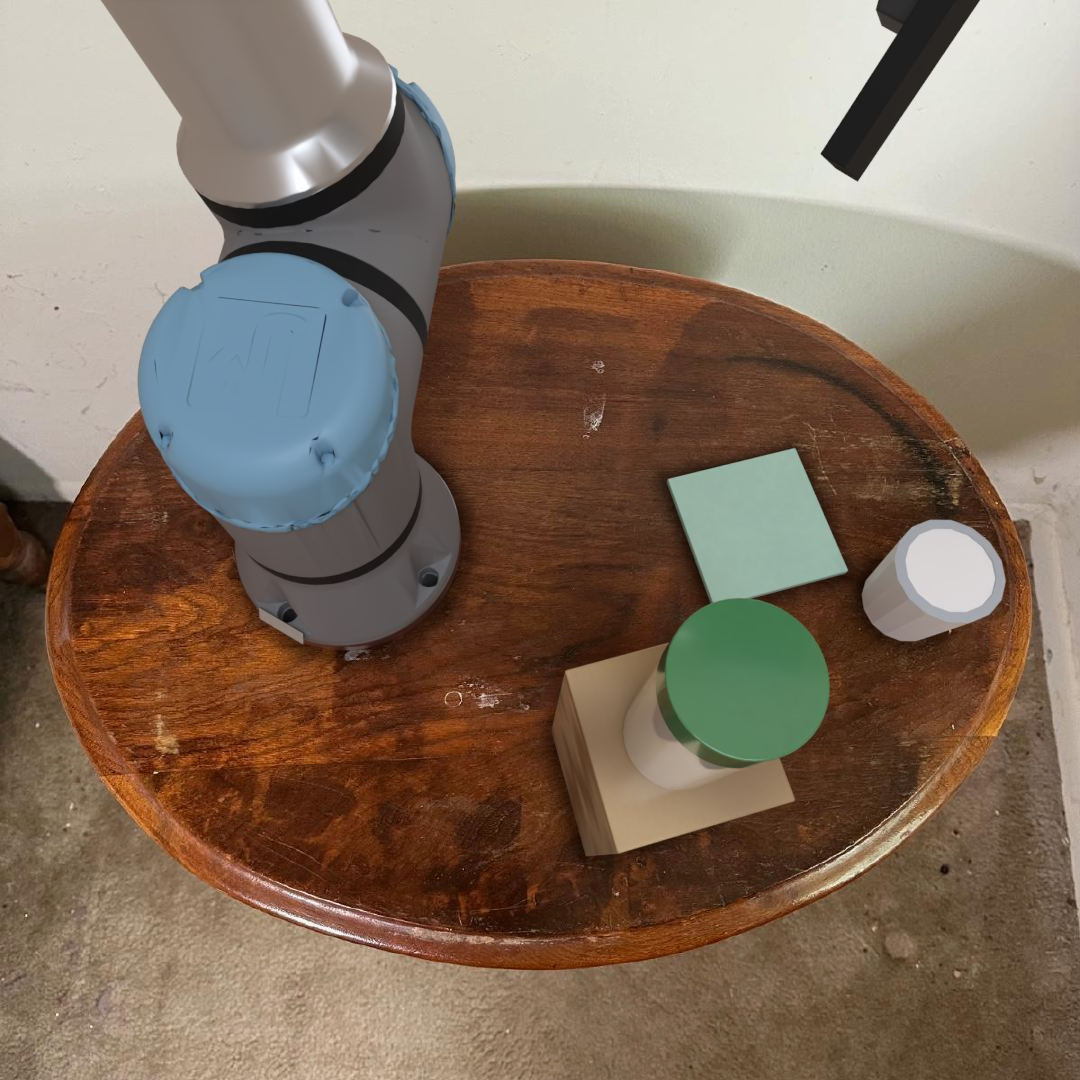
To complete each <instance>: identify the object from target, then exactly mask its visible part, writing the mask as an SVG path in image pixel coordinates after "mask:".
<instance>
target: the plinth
mask: <svg viewBox="0 0 1080 1080" xmlns="http://www.w3.org/2000/svg"><path fill="white" fill-rule="evenodd" d="M668 643H669V642H666V643H663V644H659V645H654V646H651V647H647V648H644V649H643V648H642V649H640V650H636V651H632V652H629V653H625V654H620V655H617V656H613V657H610V658H606V659H603V660H599V661H595V662H591V663H588V664H584V665H581V666H577V667H573V668H569V669H566V670H565V671H564V674H563V679H562V681H561V682H562V683H561V688H560V691H559V696H558V699H557V704H556V709H555V713H554V717H553V721H552V726H551V729H550V730H551V735H552V738H553V742H554V745H555V749H556V753H557V756H558V760H559V764H560V767H561V770H562V775H563V778H564V783H565V785H566V789H567V793H568V796H569V799H570V804H571V807H572V811H573V815H574V818H575V822H576V825H577V828H578V833H579V836H580V840H581V844H582V848H583V850H584V854H585V857H593V856H607V855H616V854H623V853H626V852H629V851H632V850H636V849H639V848H642V847H645V846H649V845H652V844H656V843H659V842H663V841H666V840H669V839H673V838H676V837H679V836H683V835H686V834H690V833H693V832H696V831H699V830H704V829H707V828H709V827H710V828H711V827H713V826H716V825H720V824H723V823H726V822H730V821H733V820H736V819H740V818H743V817H747V816H750V815H753V814H756V813H760V812H763V811H767V810H770V809H774V808H777V807H779V806H783V805H787V804H790V803H794V802H795V801H796V798H795V795H794V792H793V789H792V787H791V784H790V782H789V779H788V777H787V774H786V771H785V768H784V765H783V763H782V760H781V758H779V759H776V760H774V761H771V762H769V763H766V764H763V765H761V766H756V767H752V768H746V769H743V770H741V771H738V772H736V773H733V774H731V775H729V776H726V777H724V778H721V779H719V780H717V781H714V782H712V783H709V784H707V785H704V786H702V787H699V788H697V789H692V790H685V791H677V790H670V789H666V788H663V787H660V786H658V785H656V784H654V783H652V782H651V781H649V780H648V779H646V778H645V777H644V776H643V775H642V774H641V773H640V772H639V771H638V770H637V769H636V767H635V766H634V765H633V763H632V762H631V760H630V758H629V756H628V753H627V751H626V748H625V744H624V737H623V725H624V719H625V715H626V712H627V710H628V708H629V706H630V704H631V702H632V701H633V699H634V698H635V696H636V695H637V693H638V692H639V691H640V689H641V688H642V686H643V685H644V683H645V682H646V680H647V679H648V678H649V676H650V675H651V673H652V672H653V670H654V669H655V667H656V666H657V665H658V663H659V661H660V658H661V656H662V654H663V651H664V650H665V648H666V647H667V645H668Z"/></svg>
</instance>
